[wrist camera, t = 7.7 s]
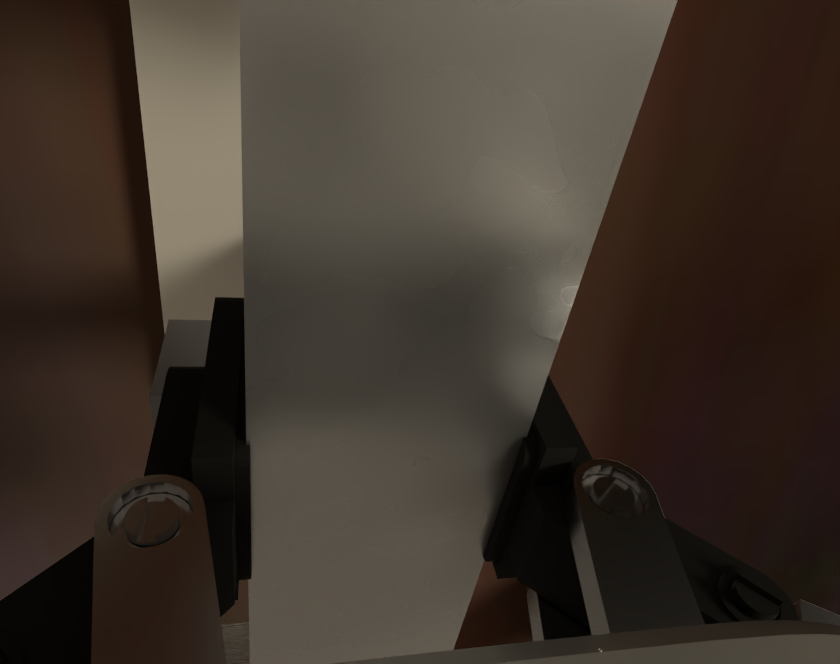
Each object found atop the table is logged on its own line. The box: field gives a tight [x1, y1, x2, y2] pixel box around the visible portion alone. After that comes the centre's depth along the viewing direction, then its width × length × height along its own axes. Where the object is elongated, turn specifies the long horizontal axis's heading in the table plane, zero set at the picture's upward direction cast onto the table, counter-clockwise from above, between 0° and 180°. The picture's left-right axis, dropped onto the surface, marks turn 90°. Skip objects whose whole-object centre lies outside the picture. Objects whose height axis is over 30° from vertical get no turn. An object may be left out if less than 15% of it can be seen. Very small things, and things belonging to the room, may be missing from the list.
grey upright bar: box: [221, 0, 677, 664], centre depth 11 cm, size 28×6×4 cm, turn 171°
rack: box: [129, 0, 244, 428], centre depth 22 cm, size 32×14×14 cm, turn 171°
